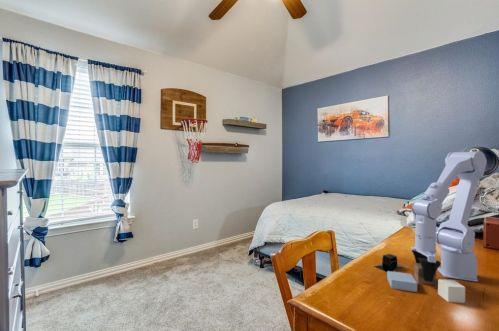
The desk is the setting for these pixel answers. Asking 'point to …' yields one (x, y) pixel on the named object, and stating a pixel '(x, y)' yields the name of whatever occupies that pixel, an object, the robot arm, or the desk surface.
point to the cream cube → (451, 291)
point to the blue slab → (402, 281)
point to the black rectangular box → (389, 263)
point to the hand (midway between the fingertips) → (424, 276)
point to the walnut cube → (419, 275)
